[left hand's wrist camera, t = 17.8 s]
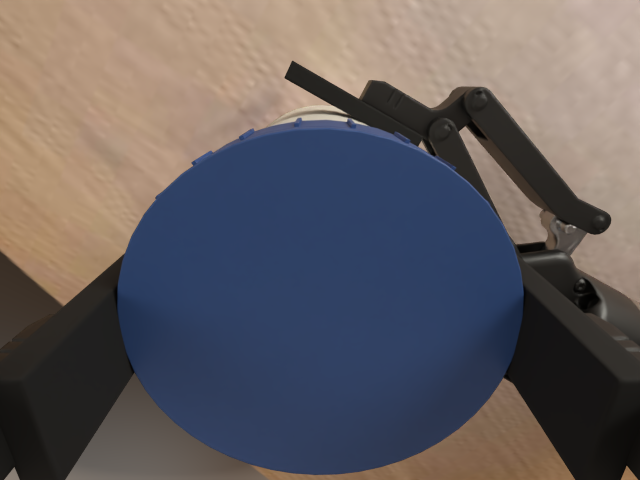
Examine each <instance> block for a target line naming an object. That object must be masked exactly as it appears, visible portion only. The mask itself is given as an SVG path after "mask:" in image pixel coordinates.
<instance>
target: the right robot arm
mask: <svg viewBox="0 0 640 480" xmlns="http://www.w3.org/2000/svg"><path fill="white" fill-rule="evenodd" d="M285 79H287V80H289V81H290V82H292V83H294V84H296V85H298V86H299V87H301V88H303V89H305V90H306V91H308V92H310V93H312V94H313V95H315V96H317V97H319V98H320V99H322V100H324V101H326V102H327V103H329V104H331V105H333V106H335V107H336V108H338V109H340V110H342V111H343V112H345V113H347V114H349V115H350V116H352V117H354V118H356V119H357V120H359V121H361V122H363V123H365V124H366V125H368V126H370V127H374V128H378V129H381V130H383V131H386V132H388V133H391V134H393V135H394V133H395V132H398V133H399V134H401V135H403V136H404V137H406V138H408V139H409V140H410V143H412V144H414V145H415V146H417V147H418V145H419V144H420V142H421V141H422V142H423V144H424V146H425V148H426V150H427V152H428V153H429V154H430V155H432V156H434V157H435V156H436V155H437V156H438V157H440V158H442V159H443V160H445V161H446V162H448V163H450V164H451V165H453V166H454V167H456V169H455V172H456V173H458V174H459V175H460V176H461V177H463V178H464V179H465V180H467V181H468V182H469V183H470V184H471V185H472V186H473V187H474V188H475V189H476V190H477V191H478V192H479V194H480V195H481V196H482V197H483V198H484V199H485V200H487V201H488V202H489V203H490V206H491V208H492V209H493V211H494V212H495V213H496V215H497V216H498V218H499V219H500V217H499V215H498V213H497V211H496V208H495V206H494V204H493V202H492V200H491V198H490V196H489V194H488V192H487V190H486V188H485V186H484V184H483V182H482V180H481V177H480V175H479V173H478V171H477V169H476V167H475V165H474V163H473V161H472V159H471V157H470V155H469V153H468V151H467V149H466V147H465V144H464V142H463V140H462V138H461V136H460V134H459V131H460V130H461V129H462V128H464V127H465V126H466V127H467V128H468V130H469V131H470V132H471V133H472V134H473V135H474V136H475V138H476V139H477V140H478V141H479V142H480V143H481V145H482V146H483V147H484V148H485V149H486V150H487V151H488V153H489V154H490V155H491V156H492V157H493V158H494V160H495V161H496V162H497V163H498V164H499V165H500V167H501V168H502V169H503V170H504V171H505V172H506V173H507V175H508V176H509V177H510V178H511V179H512V180H513V182H514V183H515V184H516V185H517V186H518V187H519V188H520V190H521V191H522V192H523V193H524V194H525V195H526V196H527V197H528V198H529V199H530V200H531V201H532V202H533V203H534V204H536V205H537V206H538V207H540V208H542V209H544V210H542V211H541V213H540V218H541V224H542V226H543V227H544V228H545V229H546V230H547V232H548V238H547V240H546V242H534V243H526V244H518V245H516V244H515V243H514V241H513V240H512V239H511V238H510V236H509V235H508V236H509V238H510V240H511V242H512V244H513V246H514V249H515V253H516V254H517V255H518V256H519V257H520V258H521V259H523V260H524V261H525V262H526V263H527V264H528V265H529V266H531V267H532V268H533V269H534V270H535V271H536V272H538V273H539V274H540V275H541V276H542V277H543V278H544V279H546V280H547V281H548V282H549V283H550V284H551V285H552V286H554V287H555V288H556V289H557V290H558V291H559V292H561V293H562V294H563V295H564V296H565V297H566V298H567V299H569V300H570V301H571V302H572V303H573V304H574V305H576V306H577V307H578V308H579V309H580V310H581V311H582V312H584V313H592V314H594V315H596V316H598V317H600V318H601V319H603V320H605V321H607V322H609V323H611V324H613V325H614V326H615V327H616V328H618V329H619V330H620V331H621V332H623V333H624V334H625V335H626V336H627V337H629V340H632V341H633V342H635V343H636V344H637V345H638V346H640V303H638V302H636V301H634V300H632V299H630V298H628V297H627V296H626V295H624V294H622V293H620V292H619V291H617V290H615V289H613V288H611V287H610V286H608V285H606V284H604V283H602V282H601V281H599V280H597V279H595V278H593V277H592V276H590V275H588V274H586V273H584V272H582V271H581V270H579V269H577V268H576V267H575V265H574V262H573V260H572V258H571V257H570V255H571V254H572V252H573V251H574V250H575V248H576V247H577V246H578V244H579V243H580V242H581V240H582V239H583V238H584V236H585V235H586V234H587V232H588V233H590V234H594V235H596V234H601V233H603V232H604V231H606V230H607V229H608V227H609V226H610V224H611V217H610V215H609V214H608V213H607V212H605V211H603V210H601V209H598V208H596V207H594V206H592V205H590V204H588V203H586V202H584V201H582V200H580V199H578V198H577V197H576V195H575V194H574V193H573V192H572V190H571V189H570V188H569V187H568V186H567V184H566V183H565V182H564V181H563V179H562V178H561V177H560V176H559V175H558V173H557V172H556V171H555V170H554V168H553V167H552V166H551V165H550V164H549V162H548V161H547V160H546V159H545V157H544V156H543V155H542V154H541V152H540V151H539V150H538V149H537V148H536V146H535V145H534V144H533V143H532V141H531V140H530V139H529V138H528V137H527V135H526V134H525V133H524V132H523V130H522V129H521V128H520V127H519V125H518V124H517V123H516V122H515V121H514V119H513V118H512V117H511V116H510V114H509V113H508V112H507V111H506V110H505V108H504V107H503V106H502V105H501V103H500V102H499V101H498V100H497V98H496V97H495V96H494V95H493V94H492V92H491V91H490V90H488V89H487V88H484V87H458V88H456V89H454V90H453V91H452V92H451V94H450V95H449V97H448V98H447V99H446V100H445V101H444V102H442V103H441V104H440V105H438V106H437V107H434V108H428V107H426V106H425V105H423V104H421V103H420V102H418V101H416V100H415V99H413V98H411V97H410V96H408V95H406V94H404V93H403V92H401V91H400V90H398V89H396V88H395V87H393V86H391V85H389V84H388V83H386V82H383V81H375V80H369V81H368V83H367V85H366V87H365V88H364V90H363V92H362V94H361V96H360V98H359V99H358V98H356V97H354V96H353V95H351V94H349V93H347V92H346V91H344V90H342V89H341V88H339V87H337V86H335V85H334V84H332V83H330V82H328V81H327V80H325V79H323V78H321V77H320V76H318V75H316V74H315V73H313V72H311V71H309V70H308V69H306V68H304V67H302V66H301V65H299V64H297V63H296V62H294V61H292V62H291V65H290V67H289V69H288V71H287V73H286V76H285ZM500 221H501V219H500ZM501 222H502V221H501ZM502 224H503V223H502ZM504 228H505V227H504ZM505 230H506V229H505ZM506 232H507V231H506ZM507 234H508V233H507ZM503 378H505V379H506V380H508V381H510V382H511V383H513V382H512V381H511V379H510V378H509V376H508V374H507V373H505V375H504V377H503Z"/></svg>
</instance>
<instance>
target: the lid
mask: <svg viewBox="0 0 640 480" xmlns="http://www.w3.org/2000/svg"><path fill="white" fill-rule="evenodd" d="M192 164H193V167H191V168H190V169H188V170H187V171H185V172H184V173H182V174H181V175H180V176H179V177H178V178H177V179H176V180H175V181H174V182H172V183H171V184H170V185H169V186H168V187H167V188H166V189H165V190H164V191H163V192H161V193H160V194H158V195H157V196H156V198H155V199H156V200H155V201H154V202H153V204H152V205H151V206H150V207H149V209H148V210H147V211H146V212H145V214H144V215H143V217H142V219H141V221H140V222H139V224H138V226H137V228H136V229H135V231H134V233H133V235H132V236H131V239H130V242H129V244H128V247H127V250H126V252H125V255H124V258H123V261H122V266H121V271H120V276H119V281H118V294H117V312H118V318H119V323H120V328H121V333H122V337H123V341H124V345H125V350H126V353H127V356H128V358H129V361H130V363H131V365H132V368H133V370H134V372H135V374H136V375H137V377H138V379H139V380H140V382H141V384H142V385H143V387H144V389H145V390H146V391H147V393H148V394H149V395H150V397H151V398H152V399H153V400H154V402H155V403H156V404H157V405H158V407H159V408H160V409H161V410H162V411H163V412H164V413H165V414H166V415H167V416H168V417H169V418H171V419H172V420H173V421H174V422H175V423H176V424H177V425H178V426H180V427H181V428H182V429H184V430H185V431H186V432H187V433H189V434H190V435H191V436H193V437H194V438H196V439H198V440H199V441H201V442H202V443H204V444H206V445H207V446H209V447H211V448H213V449H215V450H217V451H219V452H221V453H223V454H225V455H227V456H229V457H232V458H235V459H237V460H240V461H243V462H245V463H248V464H251V465H255V466H259V467H263V468H266V469H270V470H276V471H282V472H288V473H295V474H310V475H330V474H344V473H353V472H360V471H365V470H370V469H374V468H379V467H383V466H386V465H389V464H392V463H395V462H399V461H402V460H404V459H406V458H409V457H411V456H413V455H416V454H418V453H420V452H422V451H424V450H426V449H428V448H430V447H431V446H433V445H435V444H437V443H439V442H440V441H442V440H443V439H445V438H446V437H448V436H449V435H450V434H452V433H453V432H455V431H456V430H458V429H459V428H460V427H461V426H462V425H463V424H465V423H466V422H467V421H468V420H469V419H470V418H471V417H473V416H474V415H475V414H476V413H477V411H478V410H479V409H480V408H481V407H482V406H483V405H484V404H485V403H486V401H487V400H488V399H489V398H490V396H491V395H492V394H493V392H494V391H495V389H496V388H497V386H498V385H499V384H500V382H501V381H502V379H503V377H504V375H505V373H506V371H507V369H508V367H509V365H510V363H511V361H512V358H513V355H514V352H515V348H516V344H517V339H518V335H519V331H520V326H521V322H522V317H523V303H524V293H523V285H522V277H521V270H520V266H519V263H518V260H517V256H516V253H515V249H514V246H513V244H512V242H511V240H510V238H509V236H508V234H507V232H506V230H505V228H504V225H503V224H502V222H501V221H500V219H499V218H498V216H497V215H496V213H495V212H494V211H493V209H492V208H491V206H490V203H489V202H488V201H487V200H485V199H484V198H483V197H482V196H481V195H480V194H479V192H478V191H477V190H476V189H475V188H474V187H473V186H472V185H471V184H470V183H469V182H468V181H467V180H465V179H464V178H463V177H461V176H460V175H459V174H458V173H456V172H455V169H456V167H454V166H453V165H451V164H450V163H448V162H446V161H445V160H443V159H442V158H440V157H438V156H437V155H436V156H435V157H434V156H432V155H430V154H429V153H427V152H426V151H424V150H422V149H421V148H419V147H417V146H415V145H414V144H412V143H410V140H409V139H408V138H406V137H404V136H403V135H401V134H399V133H398V132H395V133H394V135H393V134H391V133H388V132H386V131H383V130H381V129H378V128H374V127H370V126H366V125H362V124H357V123H354V122H353V120H352V119H347V122H344V121H334V120H306V121H302V118H297V120H296V121H295V122H290V123H284V124H278V125H273V126H270V127H267V128H264V129H261V130H258V131H254V129H250V130H249V131H247V132H246V133H244V134H242V135H241V136H239V139H236V140H234V141H232V142H230V143H228V144H226V145H225V146H223V147H222V148H220V149H218V150H217V151H215V152H214V153H213V152H212V151H209V152H208V153H206V154H204V155H203V156H201V157H199V158H198V159H196V160H194V161H193V162H192Z"/></svg>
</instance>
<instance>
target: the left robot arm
mask: <svg viewBox="0 0 640 480" xmlns="http://www.w3.org/2000/svg"><path fill="white" fill-rule="evenodd" d="M124 255H125V254H124ZM124 255H123V256H121V257H120V258H119V259H118V260H117V261H116V262H114V263H113V264H112V265H111V266H110V267H109V268H108V269H106V270H105V271H104V272H103V273H102V274H101V275H99V276H98V277H97V278H96V279H95V280H94V281H93V282H91V283H90V284H89V285H88V286H87V287H86V288H85V289H83V290H82V291H81V292H80V293H79V294H78V295H76V296H75V297H74V298H73V299H72V300H71V301H70V302H68V303H67V304H66V305H65V306H64V307H63V308H61V309H60V310H59V311H58V312H57V313H56V314H50V315H48V316H46V317H44V318H42V319H40V320H38V321H36V322H34V323H33V324H31V325H29V326H27V327H26V328H25V329H24V330H23V331H21V332H20V333H19V334H18V335H17V336H15V337H14V338H13V339H12V342H8V343H7V344H6V345H4V346H3V347H2V348H1V349H0V480H4V479H5V478H6V477H7V475H8V474H9V473H10V472H11V470H12V469H13V468H14V467H15V469H16V471H17V474H18V476H19V479H20V480H65V479H66V478H67V476H68V474H69V473H70V471H71V470H72V468H73V467H74V465H75V464H76V462H77V461H78V459H79V457H80V456H81V454H82V453H83V451H84V450H85V448H86V447H87V445H88V443H89V442H90V440H91V439H92V437H93V436H94V434H95V433H96V431H97V429H98V428H99V426H100V425H101V423H102V422H103V420H104V419H105V417H106V415H107V414H108V412H109V411H110V409H111V408H112V406H113V405H114V403H115V402H116V400H117V398H118V397H119V395H120V394H121V392H122V391H123V389H124V387H125V386H126V384H127V383H128V381H129V380H130V378H131V377H132V375H133V374H134V370H133V368H132V365H131V363H130V361H129V358H128V356H127V353H126V350H125V345H124V341H123V337H122V333H121V328H120V323H119V318H118V312H117V294H118V281H119V276H120V271H121V266H122V261H123V258H124ZM516 256H517V260H518V263H519V266H520V270H521V277H522V285H523V293H524V303H523V317H522V322H521V326H520V331H519V335H518V339H517V344H516V348H515V352H514V355H513V358H512V361H511V363H510V365H509V367H508V369H507V371H506V373H507V374H508V376H509V378H510V379H511V381H512V382H513V384H514V385H515V387H516V388H517V390H518V392H519V393H520V395H521V396H522V398H523V399H524V401H525V402H526V404H527V406H528V407H529V409H530V410H531V412H532V413H533V415H534V416H535V418H536V419H537V421H538V423H539V424H540V426H541V427H542V429H543V430H544V432H545V433H546V435H547V437H548V438H549V440H550V441H551V443H552V444H553V446H554V447H555V449H556V451H557V452H558V454H559V455H560V457H561V458H562V460H563V461H564V463H565V464H566V466H567V468H568V469H569V471H570V472H571V474H572V475H573V477H574V478H575V480H621V478H622V475H623V473H624V471H625V468H626V466H628V467H629V469H630V470H631V471H632V472H633V474H634V475H635V476H636V477H637V479H638V480H640V346H638V345H637V344H636V343H635V342H633V341H632V340H629V337H627V336H626V335H625V334H624V333H623V332H621V331H620V330H619V329H618V328H616V327H615V326H614V325H613V324H611V323H609V322H607V321H605V320H603V319H601V318H600V317H598V316H596V315H594V314H592V313H584V312H582V311H581V310H580V309H579V308H578V307H577V306H576V305H574V304H573V303H572V302H571V301H570V300H569V299H567V298H566V297H565V296H564V295H563V294H562V293H561V292H559V291H558V290H557V289H556V288H555V287H554V286H552V285H551V284H550V283H549V282H548V281H547V280H546V279H544V278H543V277H542V276H541V275H540V274H539V273H538V272H536V271H535V270H534V269H533V268H532V267H531V266H529V265H528V264H527V263H526V262H525V261H524V260H523V259H521V258H520V257H519V256H518V255H517V254H516Z"/></svg>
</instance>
